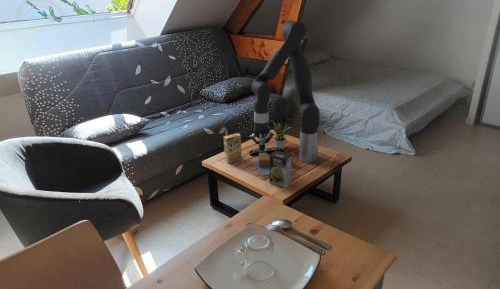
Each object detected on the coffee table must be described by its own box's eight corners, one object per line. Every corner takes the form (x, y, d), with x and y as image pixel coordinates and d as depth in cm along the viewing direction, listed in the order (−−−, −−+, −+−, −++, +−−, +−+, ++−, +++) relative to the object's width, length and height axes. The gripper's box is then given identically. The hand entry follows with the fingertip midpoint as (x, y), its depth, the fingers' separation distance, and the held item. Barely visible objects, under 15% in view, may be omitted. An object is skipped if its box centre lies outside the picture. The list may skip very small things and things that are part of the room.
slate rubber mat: (285, 157, 204) (285, 156, 204) (295, 170, 190) (295, 169, 190) (253, 162, 200) (253, 161, 200) (261, 176, 186) (261, 175, 186)
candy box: (227, 163, 200) (226, 138, 193) (224, 160, 203) (223, 135, 196) (242, 159, 203) (240, 135, 197) (238, 156, 207) (237, 132, 200)
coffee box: (269, 183, 179) (268, 155, 172) (275, 177, 184) (275, 149, 177) (285, 188, 175) (286, 159, 168) (291, 182, 180) (291, 153, 173)
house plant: (261, 147, 217) (261, 122, 210) (278, 140, 224) (278, 116, 217) (277, 155, 207) (277, 129, 200) (294, 148, 214) (295, 123, 207)
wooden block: (258, 152, 200) (291, 151, 199) (258, 159, 202) (290, 159, 201) (259, 160, 192) (292, 159, 191) (259, 167, 194) (292, 166, 193)
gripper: (271, 115, 186) (271, 145, 194) (246, 118, 183) (248, 149, 191) (276, 120, 179) (276, 151, 187) (250, 124, 177) (251, 155, 184)
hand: (262, 150), depth 189 cm, fingers closed
